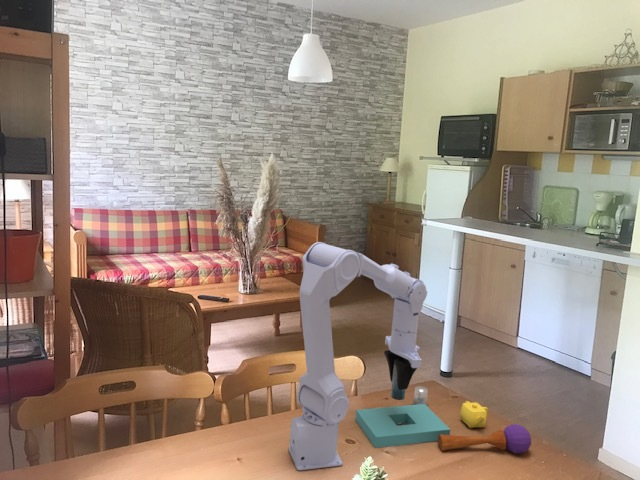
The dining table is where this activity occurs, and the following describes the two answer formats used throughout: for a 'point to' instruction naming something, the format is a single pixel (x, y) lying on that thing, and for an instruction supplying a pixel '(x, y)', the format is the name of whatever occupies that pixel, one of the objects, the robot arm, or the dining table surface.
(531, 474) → the dining table surface
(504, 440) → the kendama
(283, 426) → the dining table surface
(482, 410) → the teapot
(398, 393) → the tall pin
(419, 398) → the short pin
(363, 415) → the hole plate
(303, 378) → the robot arm
